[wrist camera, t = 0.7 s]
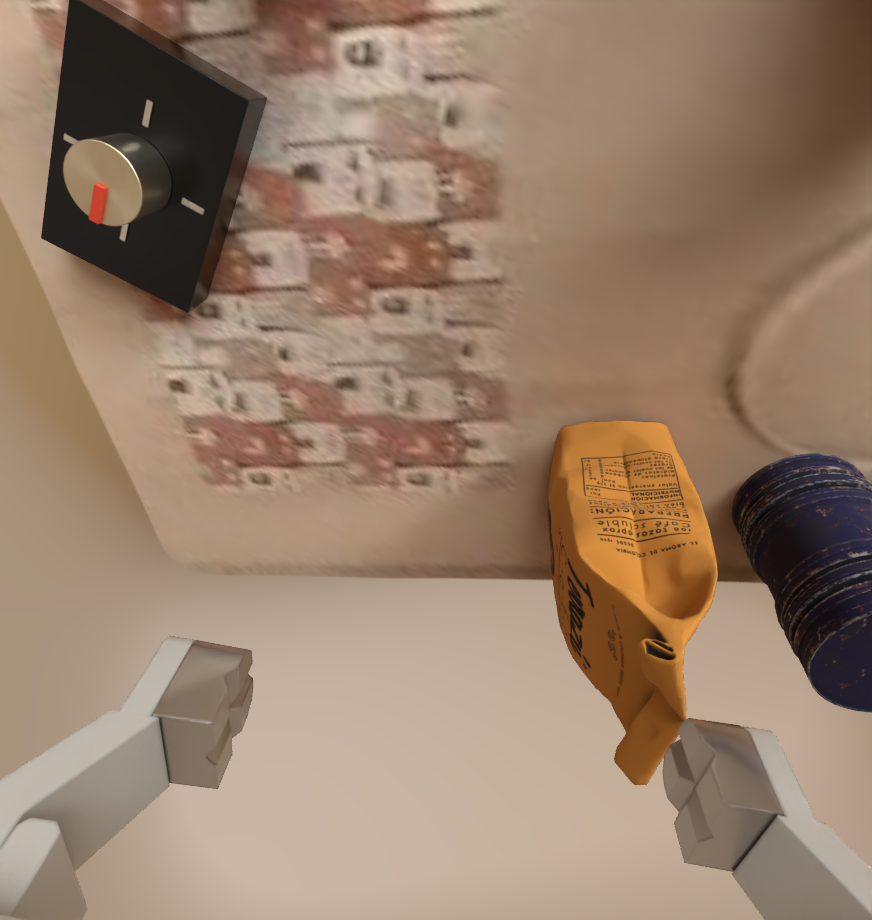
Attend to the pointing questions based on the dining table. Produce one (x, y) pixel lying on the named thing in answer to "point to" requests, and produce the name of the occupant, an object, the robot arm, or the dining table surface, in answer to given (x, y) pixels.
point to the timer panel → (166, 128)
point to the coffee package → (629, 574)
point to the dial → (117, 178)
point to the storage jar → (816, 566)
